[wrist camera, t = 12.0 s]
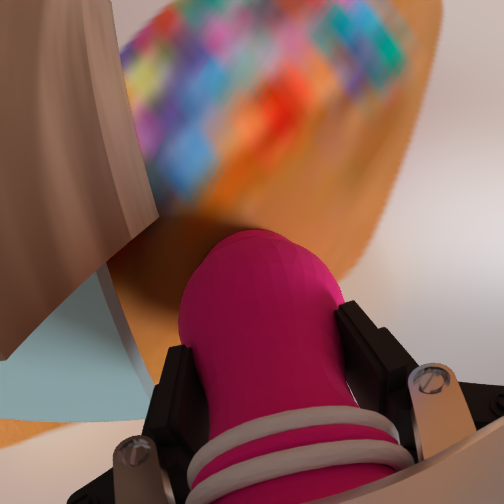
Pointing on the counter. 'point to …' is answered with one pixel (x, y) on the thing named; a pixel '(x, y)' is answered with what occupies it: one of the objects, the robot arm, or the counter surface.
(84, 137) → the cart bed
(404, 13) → the counter surface
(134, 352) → the panel
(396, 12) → the counter surface
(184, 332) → the pepper mill
